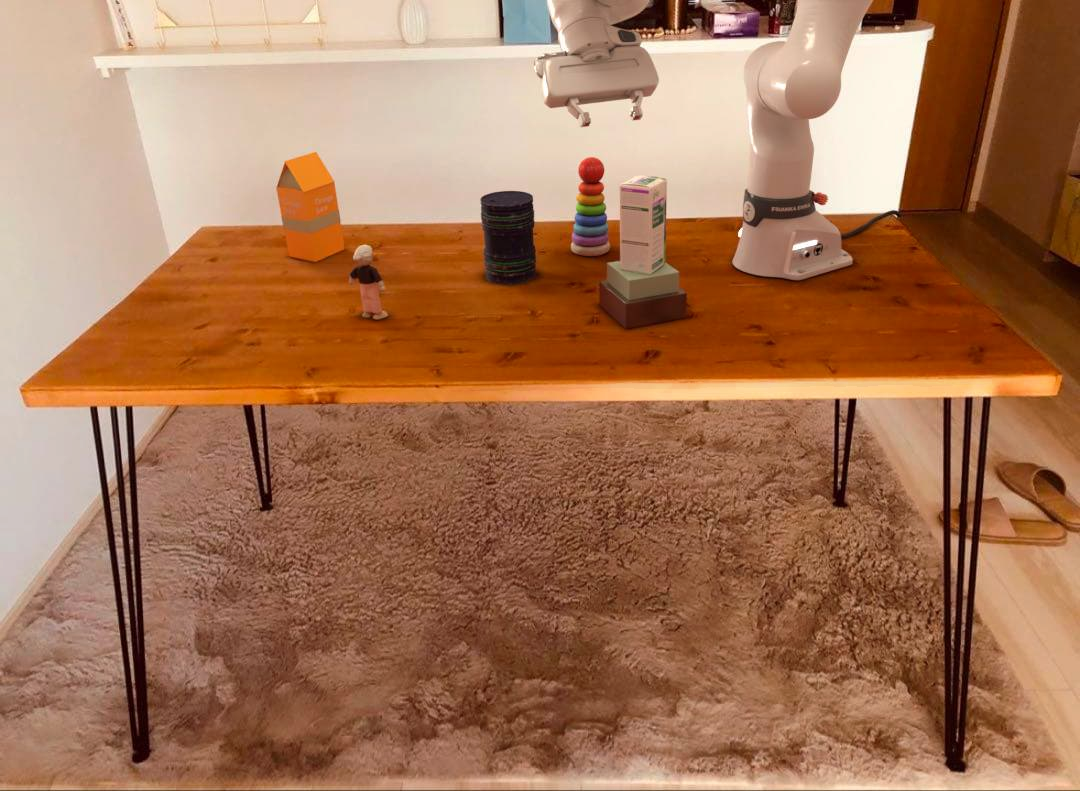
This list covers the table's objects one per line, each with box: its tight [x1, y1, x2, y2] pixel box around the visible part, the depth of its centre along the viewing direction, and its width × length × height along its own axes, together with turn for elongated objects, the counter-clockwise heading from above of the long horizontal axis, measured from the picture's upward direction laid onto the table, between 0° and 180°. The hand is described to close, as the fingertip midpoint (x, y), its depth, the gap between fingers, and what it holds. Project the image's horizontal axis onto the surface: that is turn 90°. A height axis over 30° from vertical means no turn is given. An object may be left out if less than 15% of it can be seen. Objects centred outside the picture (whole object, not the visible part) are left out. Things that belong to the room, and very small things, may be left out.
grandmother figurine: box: [348, 244, 389, 320], centre depth 144 cm, size 8×4×13 cm, turn 71°
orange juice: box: [275, 151, 345, 263], centre depth 173 cm, size 8×9×20 cm
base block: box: [598, 279, 688, 330], centre depth 143 cm, size 11×11×4 cm
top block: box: [606, 260, 680, 300], centre depth 141 cm, size 9×9×4 cm
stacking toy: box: [570, 156, 611, 257], centre depth 168 cm, size 8×8×19 cm
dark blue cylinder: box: [480, 190, 537, 285], centre depth 158 cm, size 10×10×15 cm
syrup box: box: [619, 175, 668, 275], centre depth 137 cm, size 6×6×14 cm
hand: (611, 121), depth 141 cm, fingers open, 8 cm apart
